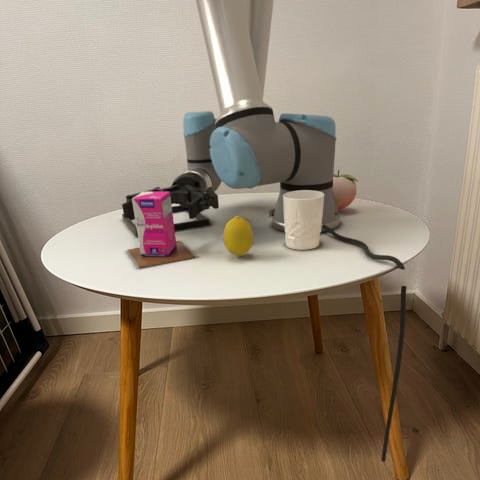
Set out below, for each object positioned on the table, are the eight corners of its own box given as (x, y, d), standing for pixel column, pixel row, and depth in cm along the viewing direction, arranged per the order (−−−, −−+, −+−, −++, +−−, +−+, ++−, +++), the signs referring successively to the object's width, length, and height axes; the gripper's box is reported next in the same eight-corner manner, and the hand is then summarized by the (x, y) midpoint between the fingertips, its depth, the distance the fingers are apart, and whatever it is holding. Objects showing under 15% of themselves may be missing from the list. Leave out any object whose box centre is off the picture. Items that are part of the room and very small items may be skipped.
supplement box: (140, 257, 84) (130, 198, 79) (151, 247, 89) (142, 191, 84) (168, 257, 83) (160, 197, 78) (177, 247, 88) (170, 190, 83)
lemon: (244, 264, 79) (242, 221, 75) (219, 259, 82) (216, 218, 78) (259, 254, 83) (257, 213, 79) (234, 251, 86) (232, 211, 82)
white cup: (321, 251, 83) (323, 199, 78) (280, 250, 85) (280, 199, 80) (322, 238, 90) (324, 189, 85) (285, 238, 91) (285, 190, 87)
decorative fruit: (316, 216, 105) (317, 173, 100) (318, 207, 112) (320, 167, 107) (355, 216, 103) (359, 173, 98) (355, 208, 110) (359, 167, 105)
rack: (209, 225, 103) (209, 218, 102) (136, 237, 97) (135, 231, 97) (187, 209, 118) (186, 204, 117) (122, 219, 112) (121, 214, 111)
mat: (194, 257, 84) (194, 255, 84) (138, 268, 80) (138, 266, 80) (178, 242, 93) (178, 240, 92) (127, 251, 89) (127, 249, 89)
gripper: (244, 204, 100) (220, 231, 82) (145, 204, 106) (102, 229, 88) (242, 170, 97) (217, 191, 79) (140, 172, 102) (94, 192, 84)
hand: (157, 211), depth 83 cm, fingers open, 13 cm apart
